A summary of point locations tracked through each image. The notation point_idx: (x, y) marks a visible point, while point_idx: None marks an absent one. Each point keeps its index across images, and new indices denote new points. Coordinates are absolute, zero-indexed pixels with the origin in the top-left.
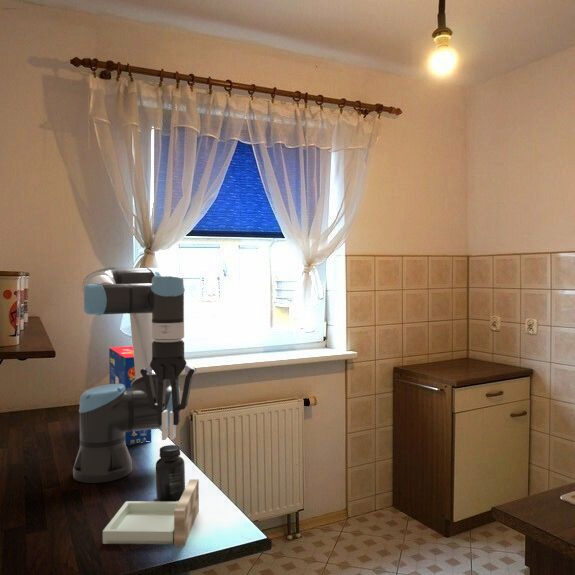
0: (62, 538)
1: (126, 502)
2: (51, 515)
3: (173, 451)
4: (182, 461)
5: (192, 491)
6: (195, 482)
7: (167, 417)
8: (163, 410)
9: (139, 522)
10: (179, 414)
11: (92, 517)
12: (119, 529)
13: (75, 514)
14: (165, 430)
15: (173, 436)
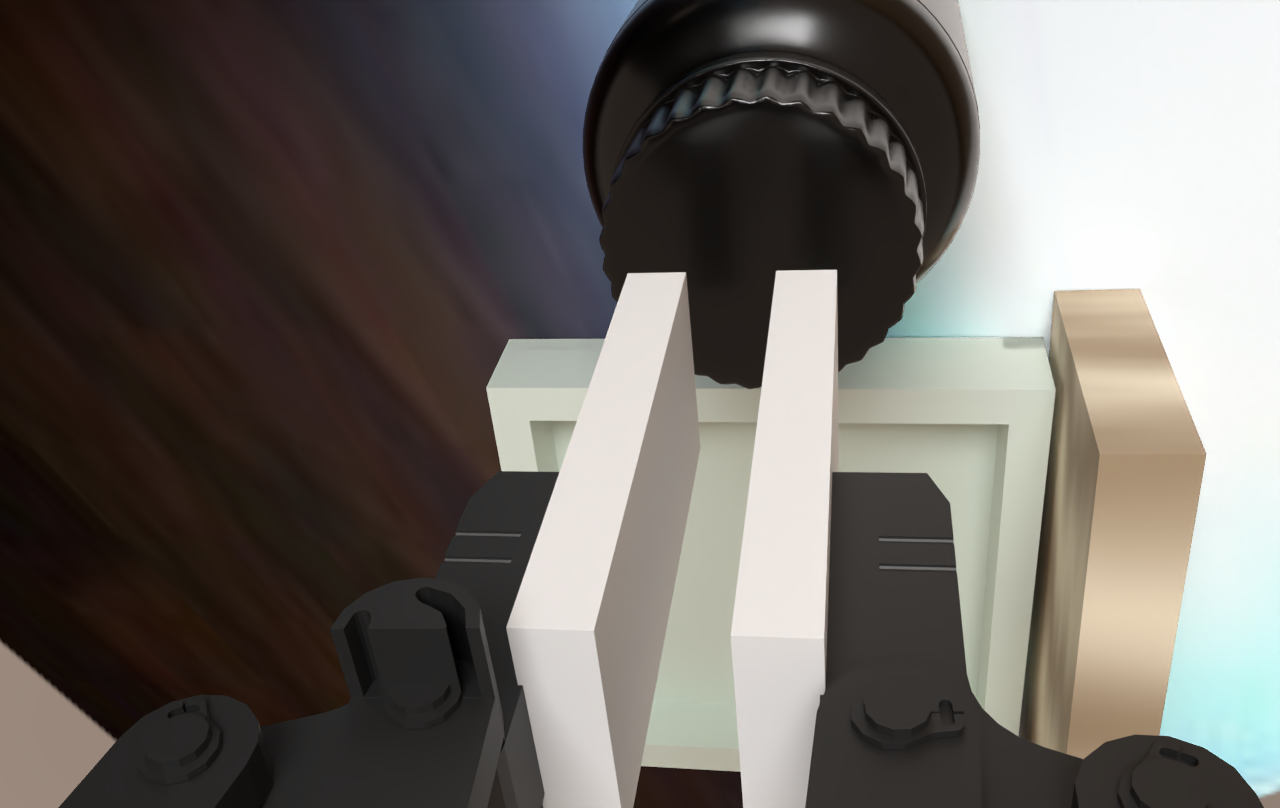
0: (304, 646)
1: (502, 410)
2: (4, 390)
3: (849, 356)
4: (962, 194)
5: (1160, 698)
6: (1174, 524)
7: (629, 521)
8: (528, 745)
9: (700, 535)
10: (961, 646)
11: (304, 415)
12: (649, 748)
13: (153, 374)
14: (680, 522)
15: (837, 447)
